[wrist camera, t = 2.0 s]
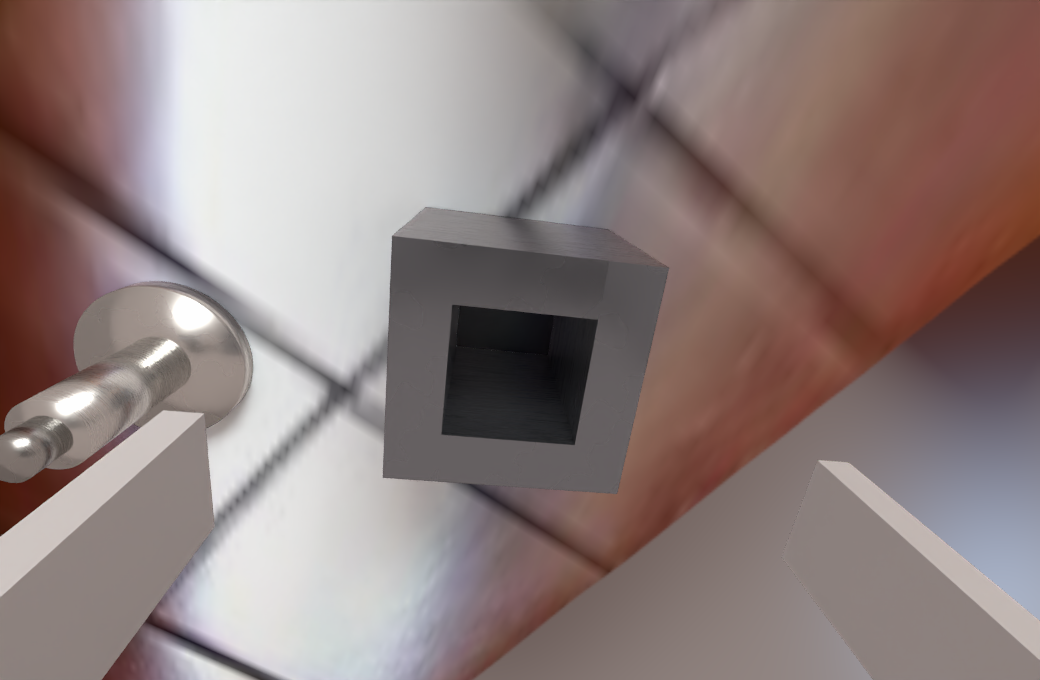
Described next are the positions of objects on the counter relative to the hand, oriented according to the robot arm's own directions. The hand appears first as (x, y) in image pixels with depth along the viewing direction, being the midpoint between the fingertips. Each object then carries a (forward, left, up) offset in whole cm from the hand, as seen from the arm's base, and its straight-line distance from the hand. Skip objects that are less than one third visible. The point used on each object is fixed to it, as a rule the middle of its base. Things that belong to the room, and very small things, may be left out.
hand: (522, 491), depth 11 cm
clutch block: (0, 0, -13) cm, 13 cm away
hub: (+4, -15, -13) cm, 20 cm away
